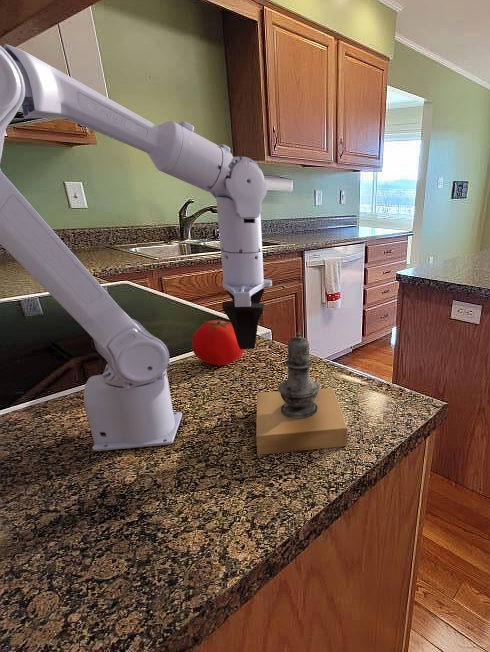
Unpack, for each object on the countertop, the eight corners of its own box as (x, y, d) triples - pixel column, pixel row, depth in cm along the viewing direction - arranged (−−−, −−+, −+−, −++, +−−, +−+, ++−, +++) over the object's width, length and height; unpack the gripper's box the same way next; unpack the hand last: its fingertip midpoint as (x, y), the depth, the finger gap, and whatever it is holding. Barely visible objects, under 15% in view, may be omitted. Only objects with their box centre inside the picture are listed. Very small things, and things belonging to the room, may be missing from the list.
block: (257, 455, 52) (256, 436, 51) (258, 409, 63) (257, 392, 62) (346, 446, 55) (347, 427, 54) (332, 403, 66) (333, 387, 64)
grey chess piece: (312, 422, 55) (311, 341, 50) (272, 416, 56) (268, 335, 51) (324, 402, 60) (325, 327, 55) (288, 396, 61) (285, 322, 56)
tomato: (188, 358, 79) (183, 318, 76) (238, 349, 85) (235, 311, 82) (203, 375, 72) (197, 332, 69) (256, 364, 78) (253, 323, 75)
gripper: (271, 259, 51) (275, 355, 56) (269, 244, 64) (272, 324, 69) (213, 258, 49) (223, 358, 55) (223, 243, 62) (230, 325, 68)
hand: (247, 339), depth 62 cm, fingers open, 7 cm apart
